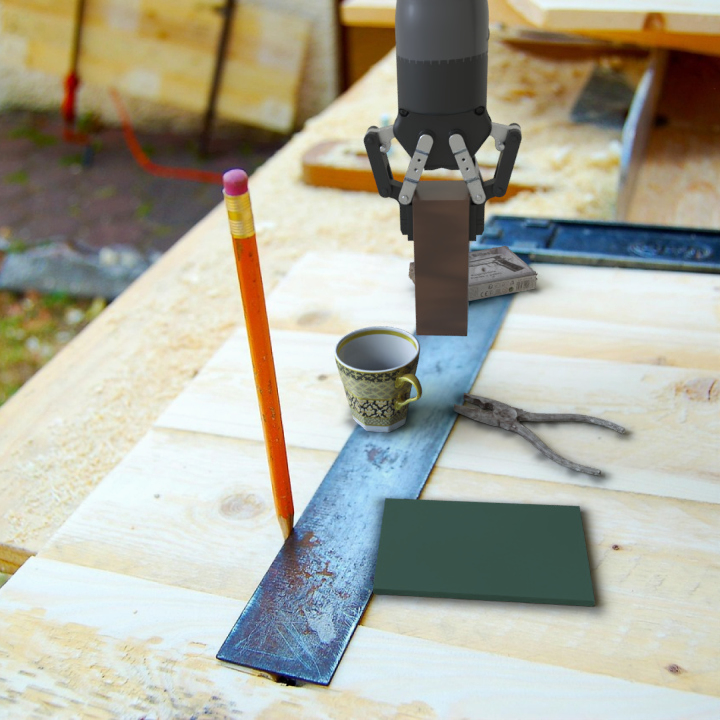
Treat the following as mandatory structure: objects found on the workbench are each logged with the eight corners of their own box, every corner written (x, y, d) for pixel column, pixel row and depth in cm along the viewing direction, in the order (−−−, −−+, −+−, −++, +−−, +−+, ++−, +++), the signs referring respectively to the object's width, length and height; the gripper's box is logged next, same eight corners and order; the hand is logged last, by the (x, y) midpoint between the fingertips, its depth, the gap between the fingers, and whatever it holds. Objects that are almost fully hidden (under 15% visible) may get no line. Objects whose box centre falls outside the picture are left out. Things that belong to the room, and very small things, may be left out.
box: (407, 279, 123) (407, 261, 121) (505, 260, 127) (506, 243, 125) (433, 310, 114) (434, 292, 112) (537, 290, 118) (539, 272, 117)
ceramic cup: (324, 413, 95) (317, 345, 90) (388, 383, 100) (385, 317, 94) (387, 466, 86) (383, 395, 81) (454, 431, 91) (455, 361, 85)
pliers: (617, 474, 81) (437, 438, 88) (616, 480, 82) (437, 443, 89) (627, 421, 89) (460, 391, 96) (626, 427, 89) (460, 396, 96)
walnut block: (468, 311, 79) (470, 179, 71) (467, 336, 74) (469, 200, 67) (419, 310, 79) (416, 180, 72) (415, 335, 75) (412, 200, 68)
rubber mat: (578, 511, 79) (579, 505, 78) (594, 606, 69) (595, 600, 68) (385, 503, 81) (385, 497, 81) (373, 594, 72) (372, 588, 71)
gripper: (348, 59, 60) (361, 255, 70) (533, 53, 58) (521, 255, 68) (361, 40, 67) (371, 222, 76) (529, 33, 64) (519, 221, 74)
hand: (442, 237), depth 72 cm, fingers closed on walnut block, 5 cm apart
